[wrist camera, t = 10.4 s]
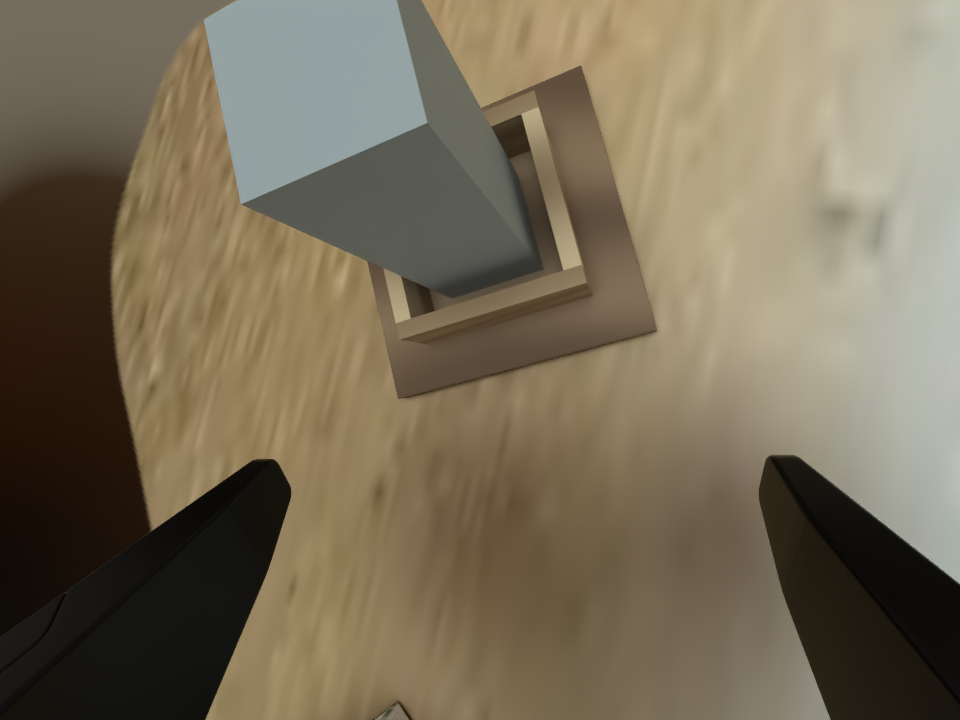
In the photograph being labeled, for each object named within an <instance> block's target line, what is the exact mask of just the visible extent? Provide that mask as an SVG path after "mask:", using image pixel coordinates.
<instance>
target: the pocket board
mask: <svg viewBox="0 0 960 720" xmlns="http://www.w3.org/2000/svg"><path fill="white" fill-rule="evenodd" d="M481 109H482V111H483V113H484V115H485V117H486V118H487V120H488V122H489V124H490V126H491V128H492V129H493V131H494V133H495V135H496V137H497V138H498V140H499V142H500V144H501V146H502V147H503V149H504V151H505V153H506V155H507V156H508V158H509V160H510V162H511V164H512V166H513V167H514V169H515V171H516V173H517V175H518V176H519V180H520V183H521V187H522V191H523V195H524V198H525V202H526V206H527V209H528V213H529V217H530V221H531V224H532V228H533V232H534V235H535V239H536V243H537V246H538V250H539V254H540V258H541V261H542V265H543V270H540V271H537V272H534V273H531V274H528V275H525V276H521V277H518V278H515V279H512V280H509V281H506V282H503V283H500V284H497V285H494V286H491V287H488V288H484V289H481V290H478V291H475V292H472V293H469V294H466V295H463V296H460V297H457V298H454V299H451V298H449V297H447V296H445V295H442V294H440V293H438V292H436V291H434V290H431V289H429V288H427V287H425V286H422V285H420V284H418V283H416V282H413V281H411V280H409V279H407V278H405V277H402V276H400V275H398V274H396V273H393V272H391V271H389V270H387V269H384V268H382V267H380V266H378V265H376V264H373V263H371V262H369V261H368V266H369V270H370V275H371V279H372V284H373V288H374V293H375V297H376V301H377V306H378V310H379V315H380V319H381V324H382V328H383V333H384V337H385V342H386V346H387V351H388V355H389V360H390V364H391V368H392V373H393V377H394V382H395V386H396V391H397V395H398V399H400V398H409V397H413V396H416V395H420V394H424V393H428V392H431V391H435V390H439V389H443V388H446V387H450V386H454V385H458V384H461V383H465V382H469V381H473V380H476V379H480V378H484V377H488V376H491V375H495V374H499V373H503V372H506V371H510V370H514V369H518V368H521V367H525V366H529V365H533V364H536V363H540V362H544V361H548V360H551V359H555V358H559V357H563V356H566V355H570V354H574V353H578V352H581V351H585V350H589V349H593V348H596V347H600V346H604V345H608V344H611V343H615V342H619V341H623V340H627V339H630V338H634V337H638V336H642V335H645V334H649V333H653V332H656V330H657V329H656V325H655V322H654V318H653V315H652V311H651V308H650V304H649V301H648V297H647V294H646V290H645V287H644V283H643V280H642V276H641V273H640V269H639V266H638V262H637V259H636V255H635V252H634V248H633V245H632V241H631V238H630V234H629V231H628V227H627V224H626V220H625V217H624V213H623V210H622V206H621V203H620V199H619V196H618V192H617V189H616V185H615V182H614V178H613V175H612V172H611V168H610V165H609V161H608V158H607V154H606V151H605V147H604V144H603V140H602V137H601V133H600V130H599V126H598V123H597V119H596V116H595V112H594V109H593V105H592V102H591V98H590V95H589V91H588V88H587V84H586V81H585V77H584V74H583V70H582V67H581V66H579V67H576V68H574V69H572V70H569V71H567V72H565V73H562V74H560V75H558V76H555V77H553V78H551V79H548V80H546V81H544V82H541V83H539V84H536V85H534V86H532V87H529V88H527V89H525V90H522V91H520V92H518V93H515V94H513V95H511V96H508V97H506V98H504V99H501V100H499V101H497V102H494V103H492V104H490V105H487V106H485V107H483V108H481Z"/></svg>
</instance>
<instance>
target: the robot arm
mask: <svg viewBox="0 0 960 720" xmlns="http://www.w3.org/2000/svg"><path fill="white" fill-rule="evenodd" d="M290 499H291V487H290V484H289V483H288V481H287V479H286V477H285V475H284V473H283V471H282V469H281V467H280V466H279V464H278V462H277V461H275V460H273V459H256V460H253V461H251V462H250V463H248V464H247V465H245V466H244V467H243V468H241V469H240V470H238V471H237V472H235V473H234V474H233V475H231V476H230V477H228V478H227V479H225V480H224V481H223V482H221V483H220V484H218V485H217V486H215V487H214V488H213V489H211V490H210V491H208V492H207V493H205V494H204V495H203V496H201V497H200V498H198V499H197V500H196V501H194V502H193V503H191V504H190V505H188V506H187V507H186V508H184V509H183V510H181V511H180V512H178V513H177V514H176V515H174V516H173V517H171V518H170V519H168V520H167V521H166V522H164V523H163V524H161V525H160V526H158V527H157V528H156V529H154V530H153V531H151V532H150V533H148V534H147V535H146V536H144V537H143V538H141V539H140V540H139V541H137V542H136V543H134V544H133V545H131V546H130V547H129V548H127V549H126V550H124V551H123V552H121V553H120V554H119V555H117V556H116V557H114V558H113V559H112V560H110V561H109V562H107V563H106V564H104V565H103V566H101V567H100V568H99V569H97V570H96V571H94V572H93V573H91V574H90V575H89V576H87V577H86V578H84V579H83V580H82V581H80V582H79V583H77V584H76V585H74V586H73V587H72V588H70V589H69V590H68V592H67V593H63V594H61V595H60V596H59V597H57V598H56V599H54V600H53V601H51V602H50V603H49V604H47V605H46V606H44V607H43V608H42V609H40V610H39V611H37V612H36V613H34V614H33V615H31V616H30V617H29V618H27V619H26V620H24V621H23V622H21V623H20V624H18V625H17V626H15V627H14V628H12V629H11V630H9V631H8V632H7V633H5V634H4V635H2V636H1V637H0V720H205V719H206V717H207V714H208V712H209V710H210V707H211V705H212V703H213V700H214V698H215V695H216V693H217V691H218V688H219V686H220V684H221V681H222V679H223V676H224V674H225V672H226V669H227V667H228V665H229V662H230V660H231V657H232V655H233V653H234V650H235V648H236V646H237V643H238V641H239V638H240V636H241V634H242V631H243V629H244V627H245V624H246V622H247V619H248V617H249V615H250V612H251V610H252V608H253V605H254V603H255V600H256V598H257V596H258V593H259V591H260V589H261V586H262V584H263V581H264V579H265V576H266V574H267V571H268V569H269V566H270V563H271V560H272V557H273V554H274V550H275V547H276V544H277V541H278V538H279V534H280V531H281V528H282V525H283V521H284V518H285V515H286V512H287V509H288V505H289V502H290ZM759 501H760V506H761V510H762V514H763V518H764V521H765V525H766V529H767V533H768V537H769V541H770V545H771V549H772V553H773V557H774V561H775V565H776V569H777V573H778V577H779V580H780V584H781V588H782V591H783V594H784V597H785V600H786V603H787V606H788V609H789V611H790V614H791V617H792V619H793V622H794V624H795V627H796V630H797V632H798V635H799V638H800V640H801V643H802V645H803V648H804V651H805V653H806V656H807V659H808V661H809V664H810V667H811V669H812V672H813V674H814V677H815V680H816V682H817V685H818V688H819V690H820V693H821V695H822V698H823V701H824V703H825V706H826V709H827V711H828V714H829V716H830V719H831V720H960V584H959V583H958V582H957V581H955V580H954V579H953V578H952V577H950V576H949V575H948V574H946V573H945V572H944V571H943V570H941V569H940V568H939V567H938V566H936V565H935V564H934V563H933V562H931V561H930V560H929V559H927V558H926V557H925V556H924V555H922V554H921V553H920V552H919V551H917V550H916V549H915V548H914V547H912V546H911V545H910V544H908V543H907V542H906V541H905V540H903V539H902V538H901V537H900V536H898V535H897V534H896V533H894V532H893V531H892V530H891V529H889V528H888V527H887V526H886V525H884V524H883V523H882V522H881V521H879V520H878V519H877V518H875V517H874V516H873V515H872V514H870V513H869V512H868V511H867V510H865V509H864V508H863V507H862V506H860V505H859V504H858V503H856V502H855V501H854V500H853V499H851V498H850V497H849V496H848V495H846V494H845V493H844V492H843V491H841V490H840V489H839V488H837V487H836V486H835V485H834V484H832V483H831V482H830V481H829V480H827V479H826V478H825V477H823V476H822V475H821V474H820V473H818V472H817V471H816V470H815V469H813V468H812V467H811V466H810V465H808V464H807V463H806V462H804V461H803V460H802V459H801V458H799V457H797V456H794V455H771V456H769V457H768V458H767V459H766V461H765V465H764V469H763V474H762V478H761V483H760V487H759Z"/></svg>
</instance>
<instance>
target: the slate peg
mask: <svg viewBox="0 0 960 720" xmlns="http://www.w3.org/2000/svg"><path fill="white" fill-rule="evenodd" d="M204 23H205V28H206V33H207V38H208V43H209V48H210V53H211V58H212V63H213V68H214V73H215V77H216V82H217V87H218V92H219V97H220V102H221V107H222V112H223V117H224V122H225V127H226V132H227V137H228V142H229V147H230V152H231V157H232V162H233V167H234V172H235V177H236V182H237V186H238V191H239V196H240V201H241V204H242V205H244V206H246V207H248V208H251V209H253V210H255V211H257V212H259V213H262V214H264V215H266V216H268V217H271V218H273V219H275V220H277V221H280V222H282V223H284V224H286V225H289V226H291V227H293V228H295V229H297V230H300V231H302V232H304V233H306V234H309V235H311V236H313V237H315V238H318V239H320V240H322V241H324V242H326V243H329V244H331V245H333V246H335V247H338V248H340V249H342V250H344V251H347V252H349V253H351V254H353V255H355V256H358V257H360V258H362V259H364V260H367V261H369V262H371V263H373V264H376V265H378V266H380V267H382V268H384V269H387V270H389V271H391V272H393V273H396V274H398V275H400V276H402V277H405V278H407V279H409V280H411V281H413V282H416V283H418V284H420V285H422V286H425V287H427V288H429V289H431V290H434V291H436V292H438V293H440V294H442V295H445V296H447V297H449V298H451V299H454V298H457V297H460V296H463V295H466V294H469V293H472V292H475V291H478V290H481V289H484V288H488V287H491V286H494V285H497V284H500V283H503V282H506V281H509V280H512V279H515V278H518V277H521V276H525V275H528V274H531V273H534V272H537V271H540V270H543V265H542V261H541V258H540V254H539V250H538V246H537V243H536V239H535V235H534V232H533V228H532V224H531V221H530V217H529V213H528V209H527V206H526V202H525V198H524V195H523V191H522V187H521V183H520V180H519V176H518V175H517V173H516V171H515V169H514V167H513V166H512V164H511V162H510V160H509V158H508V156H507V155H506V153H505V151H504V149H503V147H502V146H501V144H500V142H499V140H498V138H497V137H496V135H495V133H494V131H493V129H492V128H491V126H490V124H489V122H488V120H487V118H486V117H485V115H484V113H483V111H482V109H481V108H480V106H479V104H478V102H477V100H476V99H475V97H474V95H473V93H472V91H471V90H470V88H469V86H468V84H467V82H466V80H465V79H464V77H463V75H462V73H461V71H460V70H459V68H458V66H457V64H456V62H455V61H454V59H453V57H452V55H451V53H450V52H449V50H448V48H447V46H446V44H445V42H444V41H443V39H442V37H441V35H440V33H439V32H438V30H437V28H436V26H435V24H434V23H433V21H432V19H431V17H430V15H429V14H428V12H427V10H426V8H425V6H424V4H423V3H422V1H421V0H237V1H235V2H233V3H231V4H230V5H228V6H226V7H225V8H223V9H221V10H219V11H218V12H216V13H214V14H212V15H211V16H209V17H207V18H206V19H204Z"/></svg>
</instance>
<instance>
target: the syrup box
mask: <svg viewBox="0 0 960 720" xmlns="http://www.w3.org/2000/svg"><path fill="white" fill-rule="evenodd" d="M374 720H409V718H408V717H407V715H406V714H405V712H404V711H403V709H402V708H401V706H400V705H399V704H398V703H396V704H394V705H393V706H391V707H390V708H389V709H387V710H386V711H384V712H383V713H382V714H381V715H379V716H378V717H377V718H375V719H374Z"/></svg>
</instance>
